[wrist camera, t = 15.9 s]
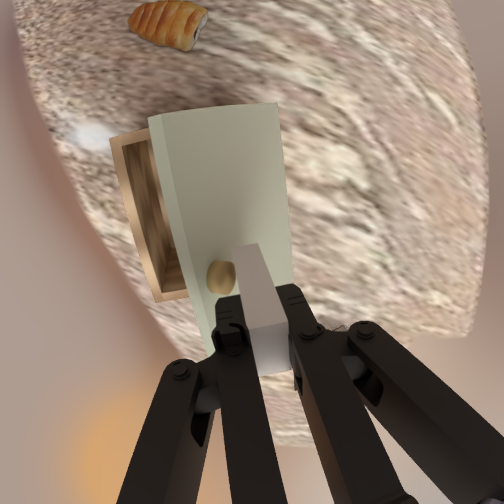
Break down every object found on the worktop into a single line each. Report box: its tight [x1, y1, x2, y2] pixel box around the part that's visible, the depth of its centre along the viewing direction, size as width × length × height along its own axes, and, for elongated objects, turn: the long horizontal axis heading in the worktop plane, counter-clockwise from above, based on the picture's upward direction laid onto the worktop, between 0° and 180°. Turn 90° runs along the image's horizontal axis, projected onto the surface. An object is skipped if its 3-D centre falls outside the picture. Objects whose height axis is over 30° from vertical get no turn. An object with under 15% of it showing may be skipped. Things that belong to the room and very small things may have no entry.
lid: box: [148, 103, 294, 357], centre depth 20 cm, size 18×14×2 cm
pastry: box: [128, 0, 208, 51], centre depth 25 cm, size 9×7×4 cm
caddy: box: [109, 128, 189, 303], centre depth 31 cm, size 17×14×12 cm
